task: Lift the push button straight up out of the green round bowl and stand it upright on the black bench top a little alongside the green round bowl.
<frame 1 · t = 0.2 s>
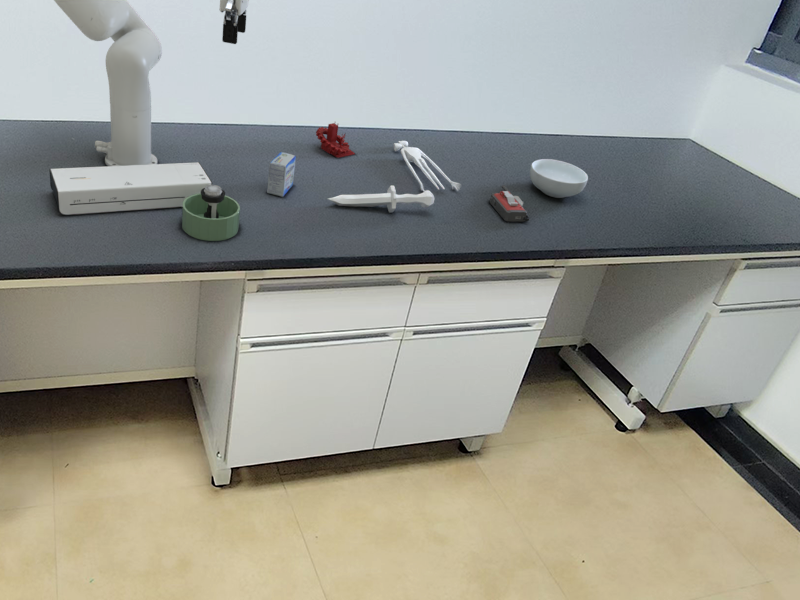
hand: (234, 37, 178), 37 cm above the lab bench, tool pointing down, fingers open, 9 cm apart
laminator: (132, 199, 181), on the lab bench
green round bowl: (210, 226, 177), on the lab bench
medicine box: (279, 190, 199), on the lab bench
cereal bowl: (553, 192, 229), on the lab bench
dagger: (378, 211, 199), on the lab bench
walkie-talkie: (505, 207, 215), on the lab bench
push button: (210, 226, 177), resting in green round bowl
diorama: (334, 151, 225), on the lab bench
alien: (417, 170, 225), on the lab bench
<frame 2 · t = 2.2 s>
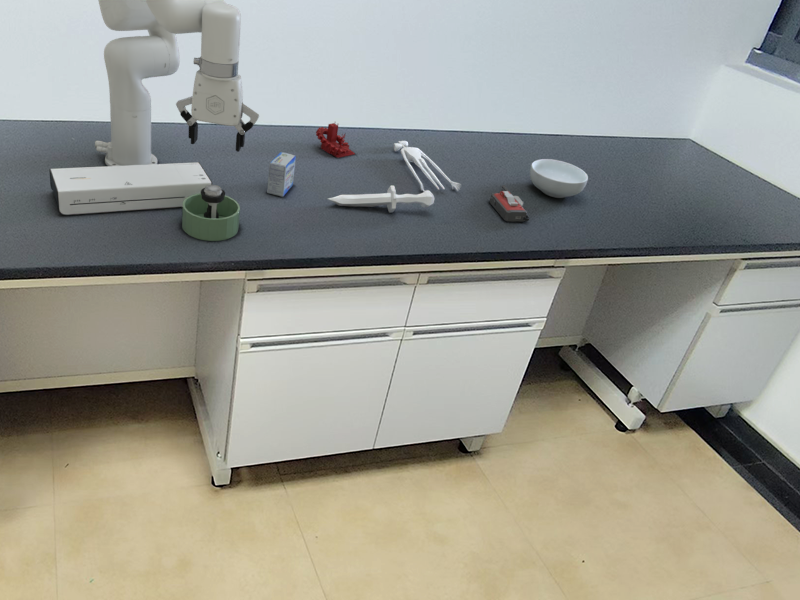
hand: (216, 145, 167), 20 cm above the lab bench, tool pointing down, fingers open, 9 cm apart
nothing on the lab bench moved.
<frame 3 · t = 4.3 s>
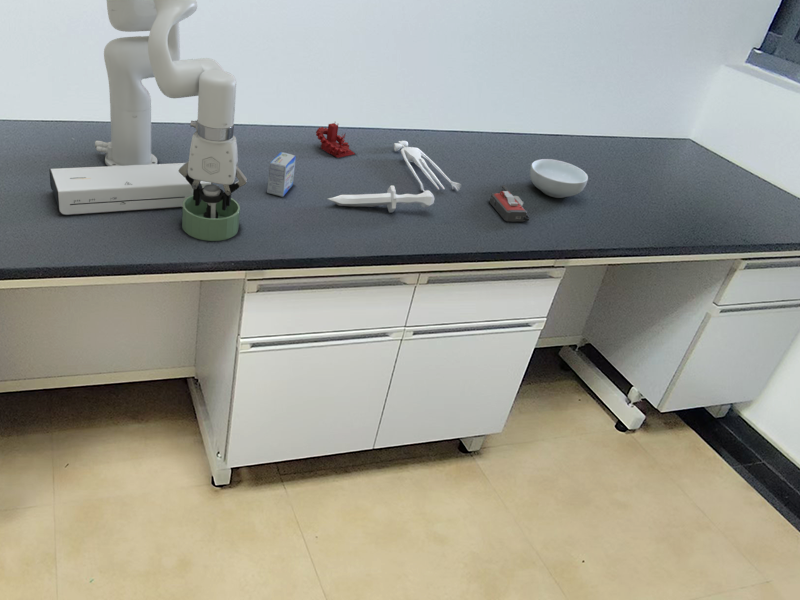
hand: (211, 204, 174), 6 cm above the lab bench, tool pointing down, fingers closed on push button, 5 cm apart
push button: (210, 226, 177), resting in green round bowl, touching gripper
everything else where it was.
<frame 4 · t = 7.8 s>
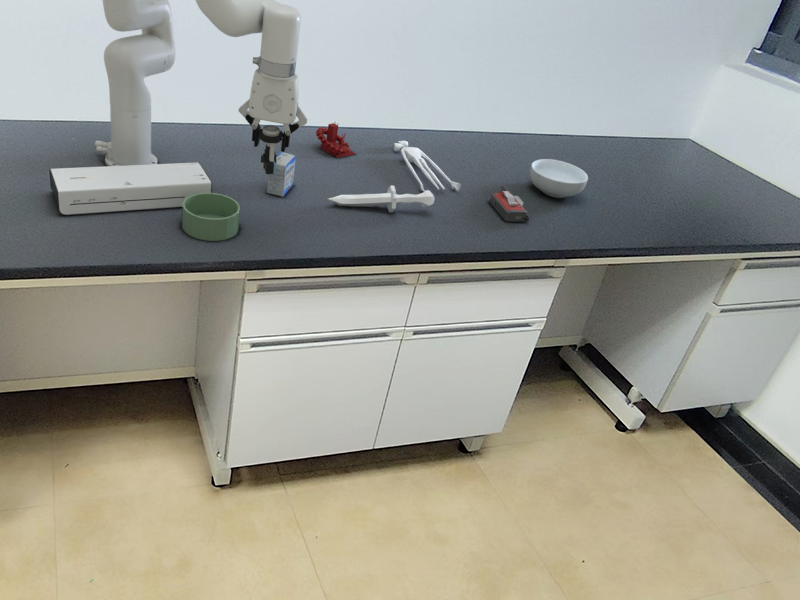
hand: (270, 146, 172), 20 cm above the lab bench, tool pointing down, fingers closed on push button, 5 cm apart
push button: (267, 169, 175), point 14 cm above the lab bench, touching gripper
everything else where it was.
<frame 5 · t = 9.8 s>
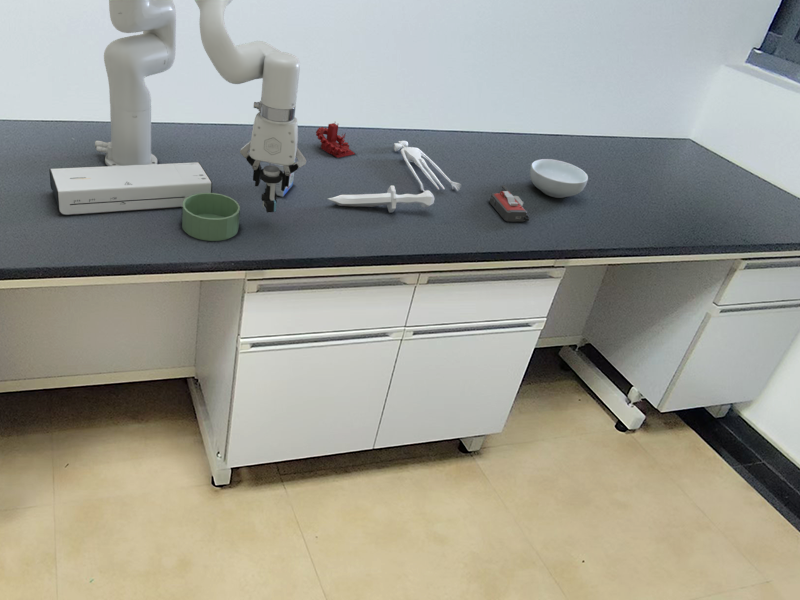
hand: (270, 185, 177), 10 cm above the lab bench, tool pointing down, fingers closed on push button, 5 cm apart
push button: (268, 207, 180), point 4 cm above the lab bench, touching gripper
everything else where it was.
when the fingers open (6 cm above the lab bench, at t = 11.3 s): push button stays where it is, on the lab bench.
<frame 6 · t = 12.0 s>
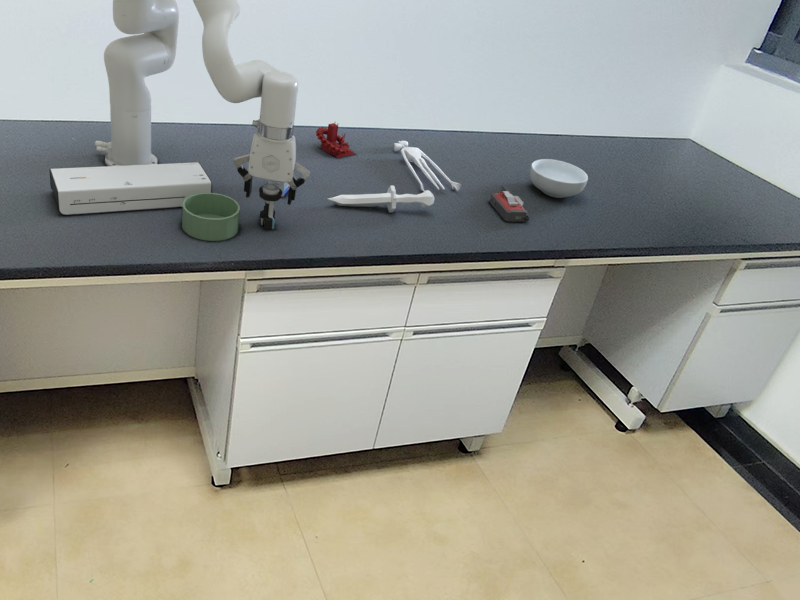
hand: (269, 198, 179), 7 cm above the lab bench, tool pointing down, fingers open, 9 cm apart
push button: (266, 224, 183), on the lab bench
everything else where it was.
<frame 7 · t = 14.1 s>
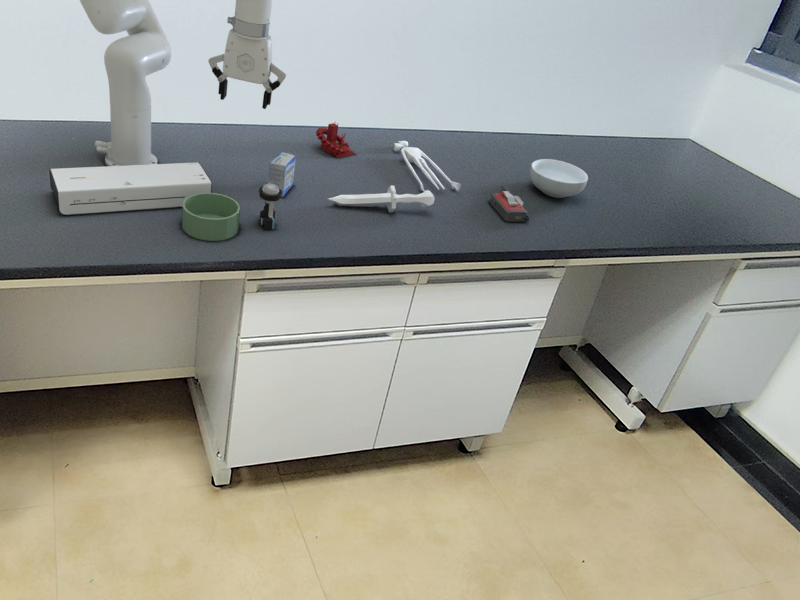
hand: (244, 102, 177), 25 cm above the lab bench, tool pointing down, fingers open, 9 cm apart
nothing on the lab bench moved.
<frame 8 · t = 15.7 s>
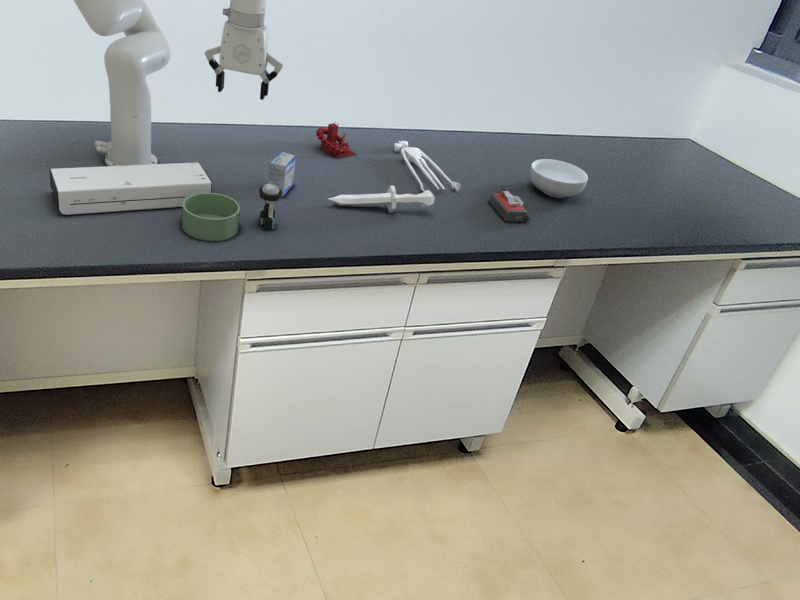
hand: (241, 94, 177), 26 cm above the lab bench, tool pointing down, fingers open, 9 cm apart
nothing on the lab bench moved.
at the end: push button inside the target area (0.1 cm from its centre), on the lab bench; push button touching lab bench; push button tilted 0° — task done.
